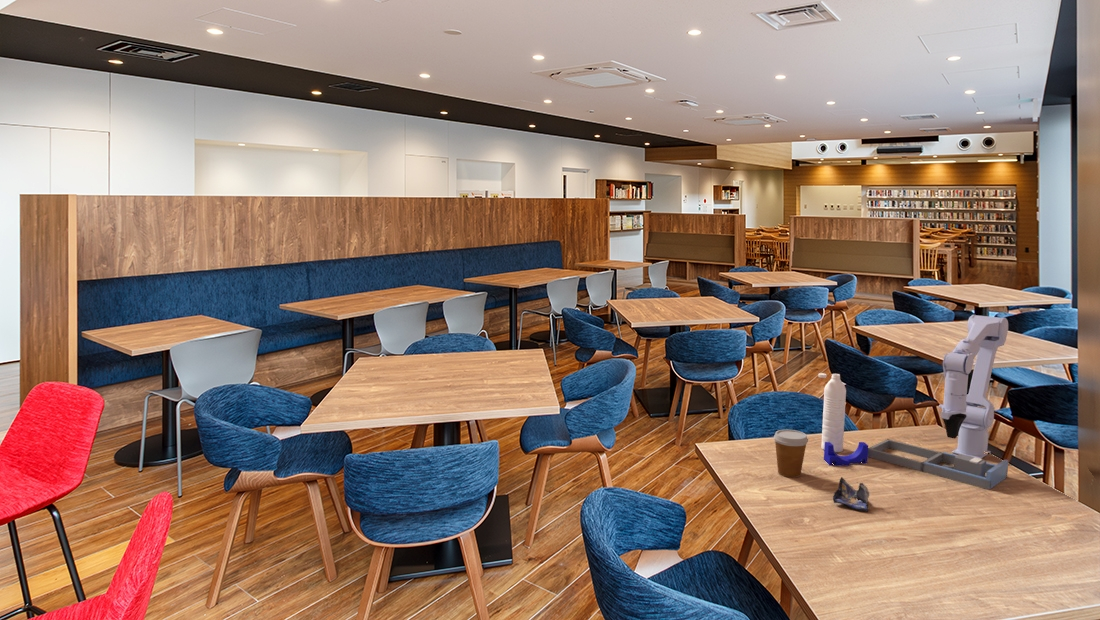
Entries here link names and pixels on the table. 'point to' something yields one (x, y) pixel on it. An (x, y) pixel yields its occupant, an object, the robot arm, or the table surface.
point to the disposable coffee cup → (790, 451)
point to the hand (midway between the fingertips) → (951, 437)
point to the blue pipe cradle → (855, 457)
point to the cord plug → (969, 465)
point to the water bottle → (833, 412)
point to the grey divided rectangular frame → (930, 465)
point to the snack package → (852, 495)
